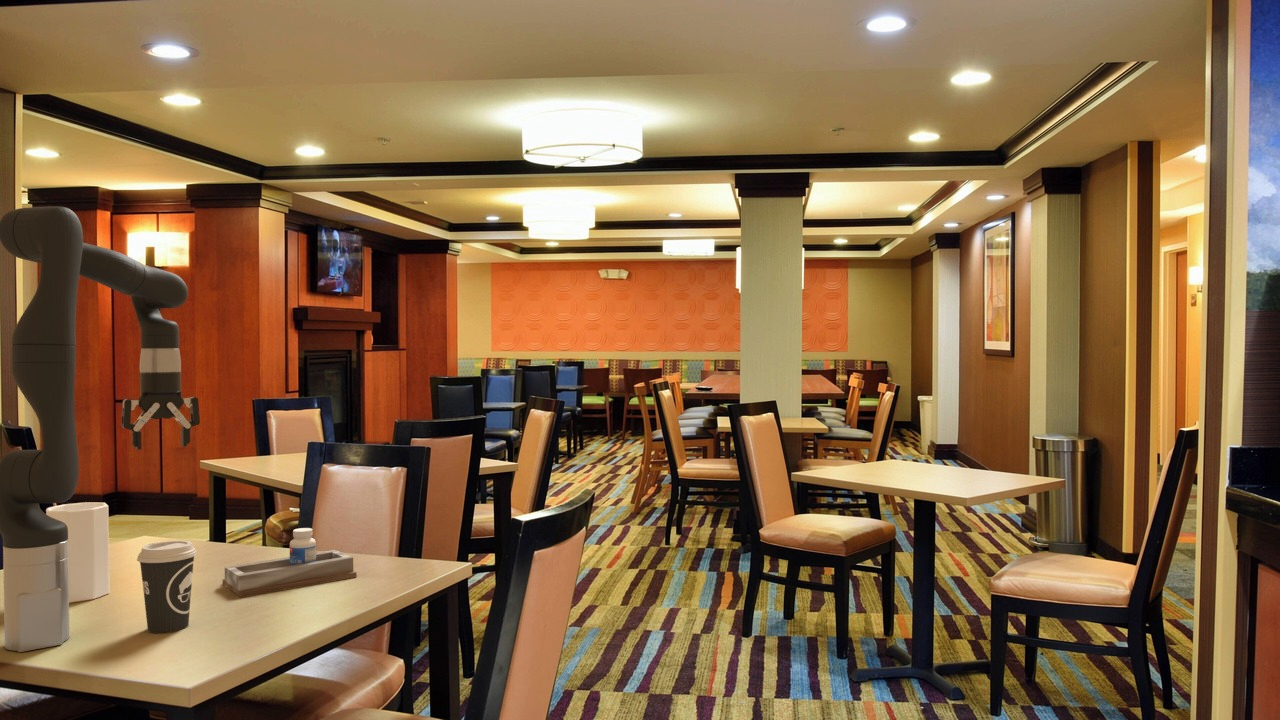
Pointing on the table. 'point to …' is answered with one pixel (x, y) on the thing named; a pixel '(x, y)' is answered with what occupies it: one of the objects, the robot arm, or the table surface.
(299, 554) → the pill bottle
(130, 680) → the table surface
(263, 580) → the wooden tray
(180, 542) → the coffee cup
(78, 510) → the cup
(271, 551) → the table surface
